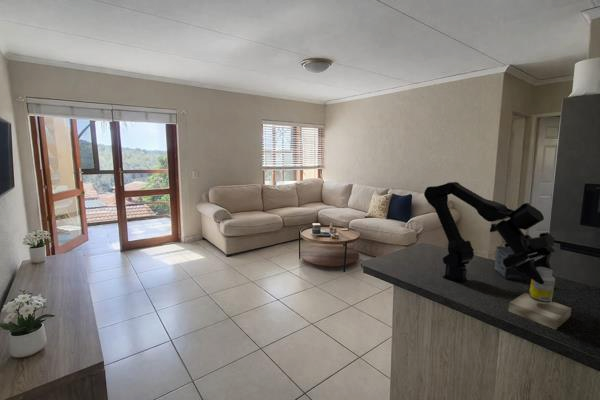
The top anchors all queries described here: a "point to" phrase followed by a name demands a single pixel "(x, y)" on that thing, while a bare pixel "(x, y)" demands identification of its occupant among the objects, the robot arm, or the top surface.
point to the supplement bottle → (542, 287)
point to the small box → (500, 268)
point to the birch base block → (540, 311)
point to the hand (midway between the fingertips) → (547, 282)
